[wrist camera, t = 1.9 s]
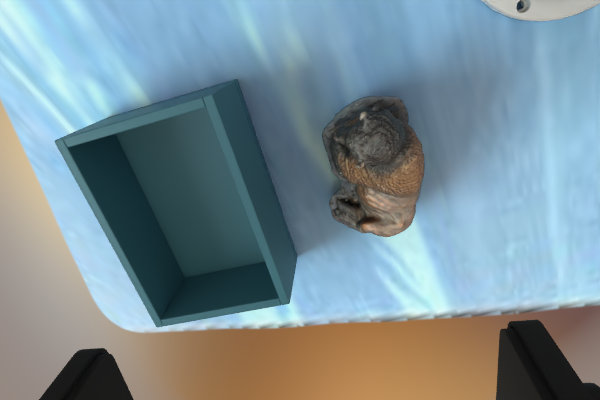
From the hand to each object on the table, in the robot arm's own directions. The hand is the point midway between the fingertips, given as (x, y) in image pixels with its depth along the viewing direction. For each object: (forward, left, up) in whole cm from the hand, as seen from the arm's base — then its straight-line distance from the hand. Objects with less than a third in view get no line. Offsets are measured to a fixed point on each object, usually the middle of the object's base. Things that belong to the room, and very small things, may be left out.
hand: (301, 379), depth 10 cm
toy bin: (+12, +3, -25) cm, 28 cm away
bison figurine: (-3, +3, -25) cm, 25 cm away
